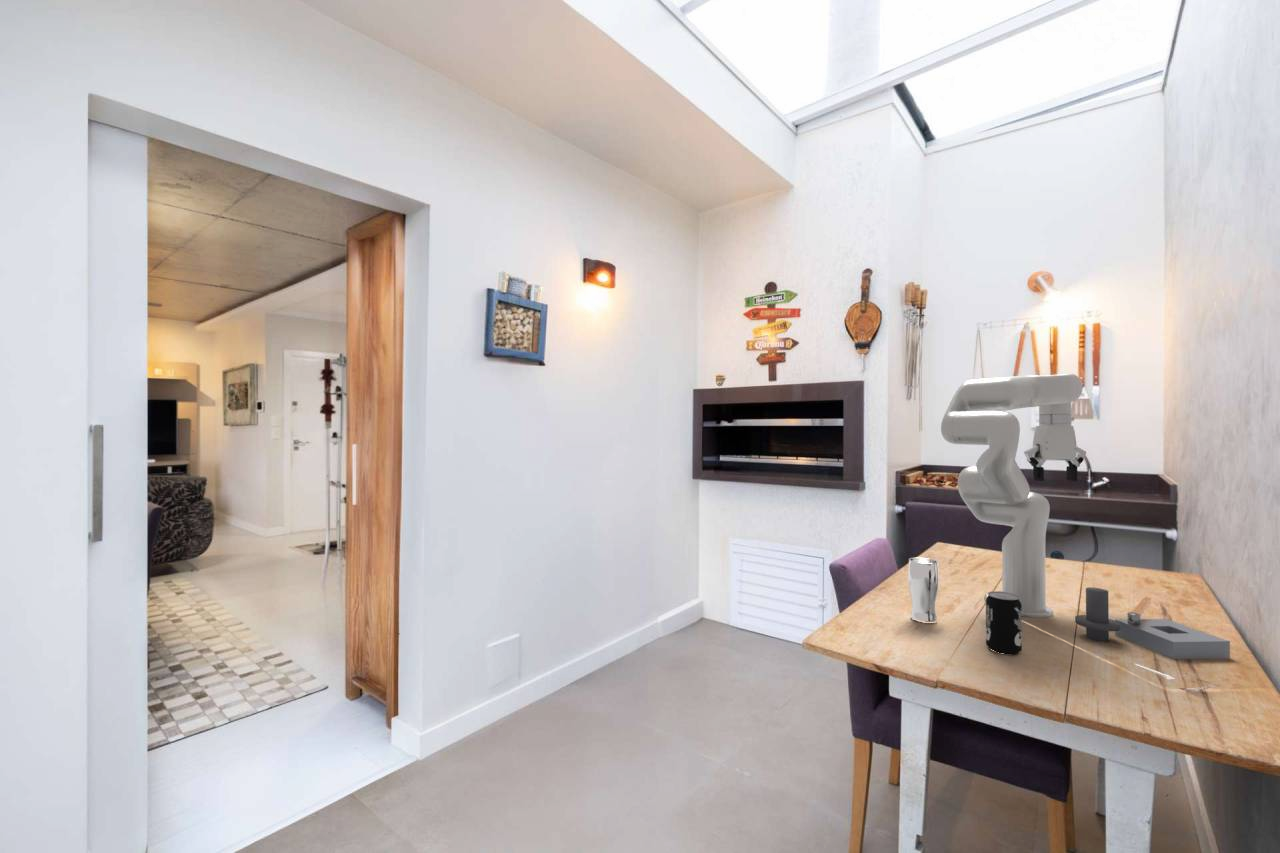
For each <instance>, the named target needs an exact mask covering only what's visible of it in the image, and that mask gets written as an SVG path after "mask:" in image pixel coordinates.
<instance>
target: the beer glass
mask: <svg viewBox="0 0 1280 853" xmlns="http://www.w3.org/2000/svg"><path fill="white" fill-rule="evenodd" d="M907 569H908V570H907V580H908V587H909V593H910V597H911V612H910V616H911V617H912V618H913V619H916V620H920V621H925V622H935V621H937V622H938V617H937V613H936V602H937V598H938V591H939V587H940V586H939V583H940V573H939V562H938V560H936V559H933V558H927V557H910V558H908V568H907Z"/></svg>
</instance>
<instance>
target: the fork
mask: <svg viewBox="0 0 1280 853" xmlns="http://www.w3.org/2000/svg"><path fill="white" fill-rule="evenodd" d="M1134 665H1136V666H1138V667H1139V668H1143V669H1145V670H1147V671H1149V672H1152V673H1154V674H1157V675H1159V676H1161V677H1162V678H1163V677H1164V678H1165V679H1167V680H1176V678H1174V677H1173V676H1171V675H1169V674H1166V673H1162V672H1160V671H1158V670H1155V669H1152V668H1149V667H1147V666H1144V665H1141V664H1137V663H1134ZM1211 688H1212V686H1206V687H1191V688H1189V687H1188V688H1187V687H1183V688H1180V687H1179V689H1180V690H1182V691H1194V690H1205V689H1211Z"/></svg>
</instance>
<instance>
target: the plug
mask: <svg viewBox="0 0 1280 853" xmlns="http://www.w3.org/2000/svg"><path fill="white" fill-rule="evenodd" d="M1109 608H1110V607H1109V590H1107V589H1104V588H1099V587H1086V588H1085V614H1079V615H1075V616H1074V622H1075V624H1076V625H1079V626H1080V627H1083V628H1085V630H1086V631H1085V637H1086V638H1087V639H1089V640H1091V641H1094V642H1095V641H1096V642H1101V643H1103V642H1104V643H1106V642H1109V640H1110V638H1109V637H1110V636H1109V634H1110V632H1115V631H1119V630H1120V623H1118V622H1117V621H1115V619H1114V620H1113V619H1111V618H1110V617H1109V611H1110V610H1109Z"/></svg>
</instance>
